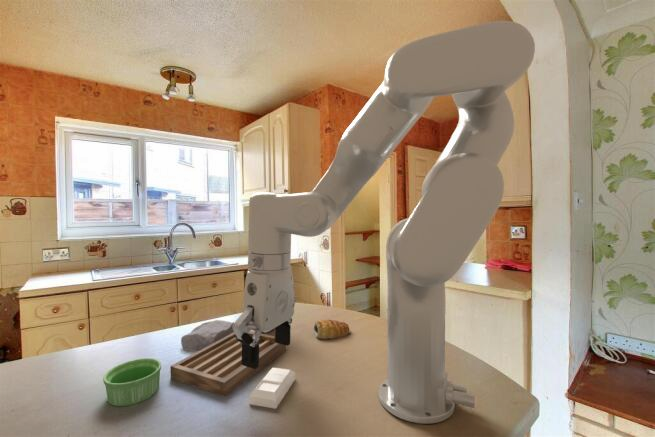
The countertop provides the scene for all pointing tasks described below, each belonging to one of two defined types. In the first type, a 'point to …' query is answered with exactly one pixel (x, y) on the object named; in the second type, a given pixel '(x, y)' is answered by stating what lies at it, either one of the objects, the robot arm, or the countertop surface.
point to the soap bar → (272, 388)
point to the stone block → (206, 334)
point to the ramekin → (132, 381)
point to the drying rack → (223, 364)
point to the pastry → (330, 329)
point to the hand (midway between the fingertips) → (267, 354)
